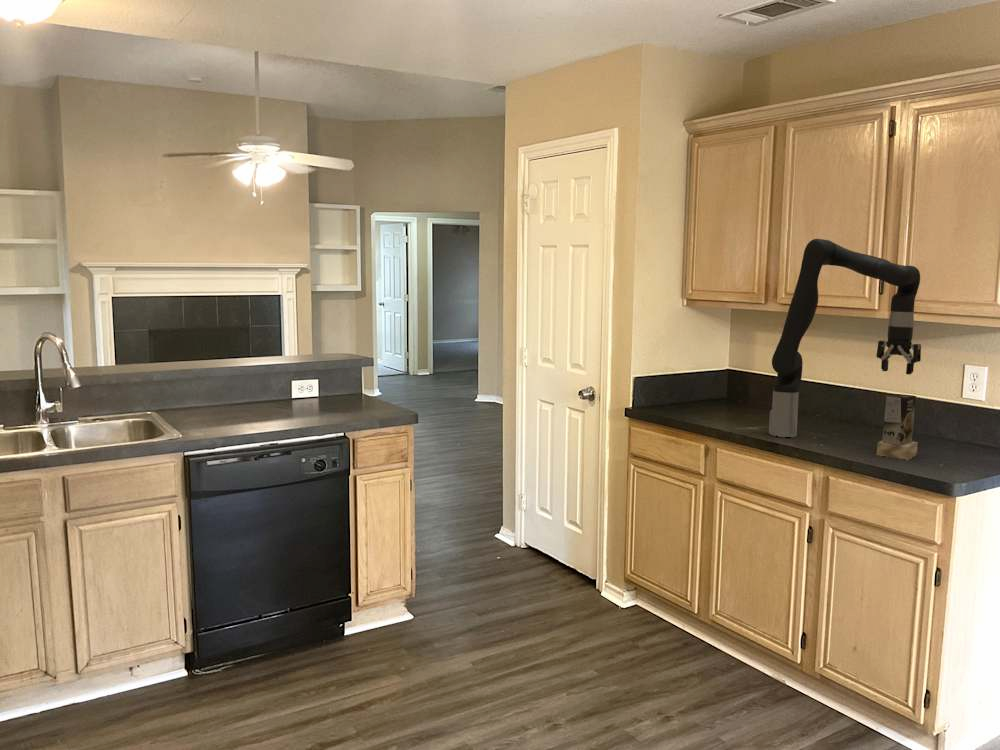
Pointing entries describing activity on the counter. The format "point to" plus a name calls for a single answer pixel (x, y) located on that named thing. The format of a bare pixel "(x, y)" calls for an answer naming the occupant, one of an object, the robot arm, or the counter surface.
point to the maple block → (897, 450)
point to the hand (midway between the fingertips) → (896, 372)
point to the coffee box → (899, 419)
